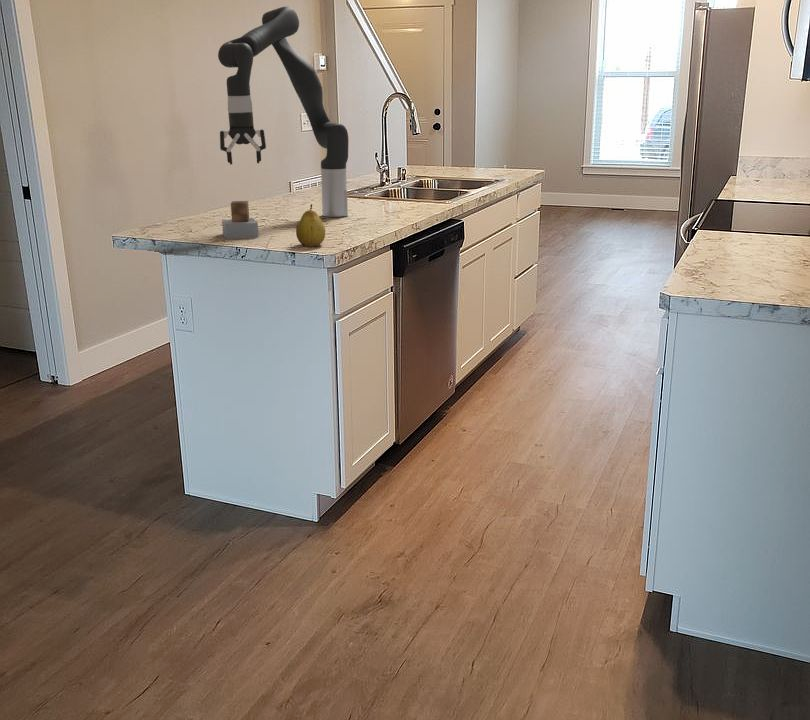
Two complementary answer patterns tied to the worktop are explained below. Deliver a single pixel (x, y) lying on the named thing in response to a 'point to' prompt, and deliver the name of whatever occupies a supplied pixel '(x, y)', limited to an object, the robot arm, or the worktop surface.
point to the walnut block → (239, 211)
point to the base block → (240, 229)
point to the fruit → (310, 229)
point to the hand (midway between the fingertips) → (244, 163)
